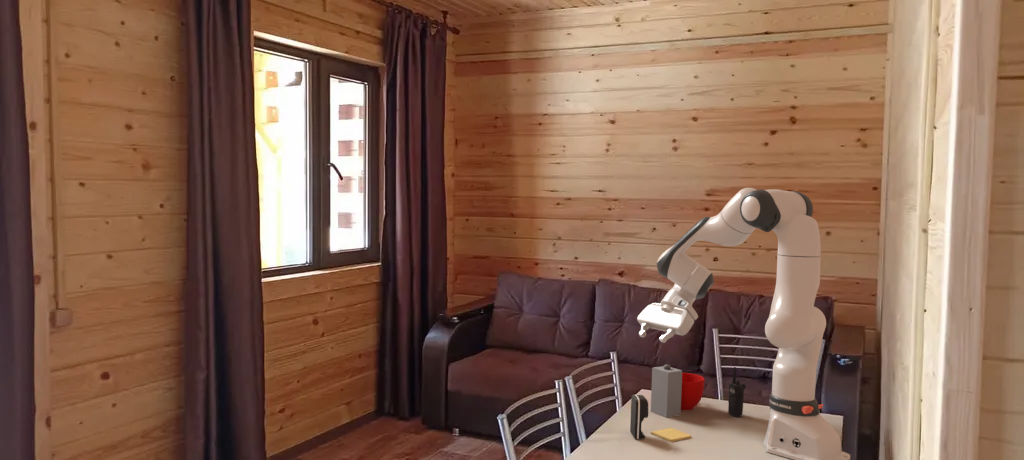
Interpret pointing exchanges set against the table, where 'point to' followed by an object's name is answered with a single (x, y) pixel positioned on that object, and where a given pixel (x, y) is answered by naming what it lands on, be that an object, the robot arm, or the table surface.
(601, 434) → the table surface
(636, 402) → the battery charger
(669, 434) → the bay mat
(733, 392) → the two-way radio
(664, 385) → the gray rectangular box
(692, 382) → the ceramic cup
